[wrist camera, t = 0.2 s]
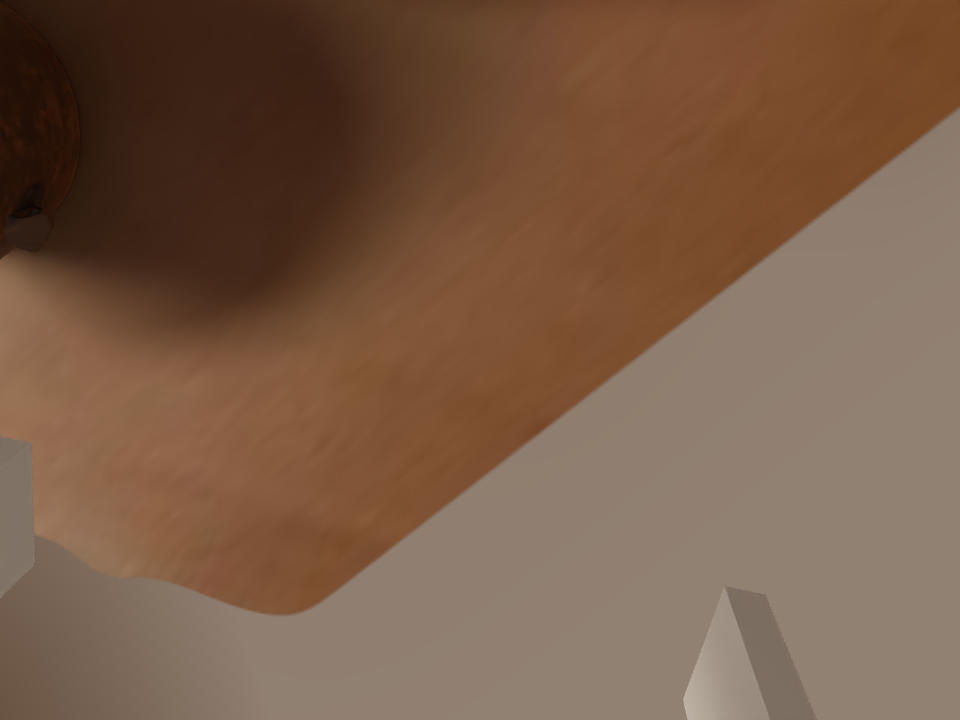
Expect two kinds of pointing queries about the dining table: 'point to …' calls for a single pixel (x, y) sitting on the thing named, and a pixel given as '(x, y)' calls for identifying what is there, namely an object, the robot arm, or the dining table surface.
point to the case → (32, 135)
